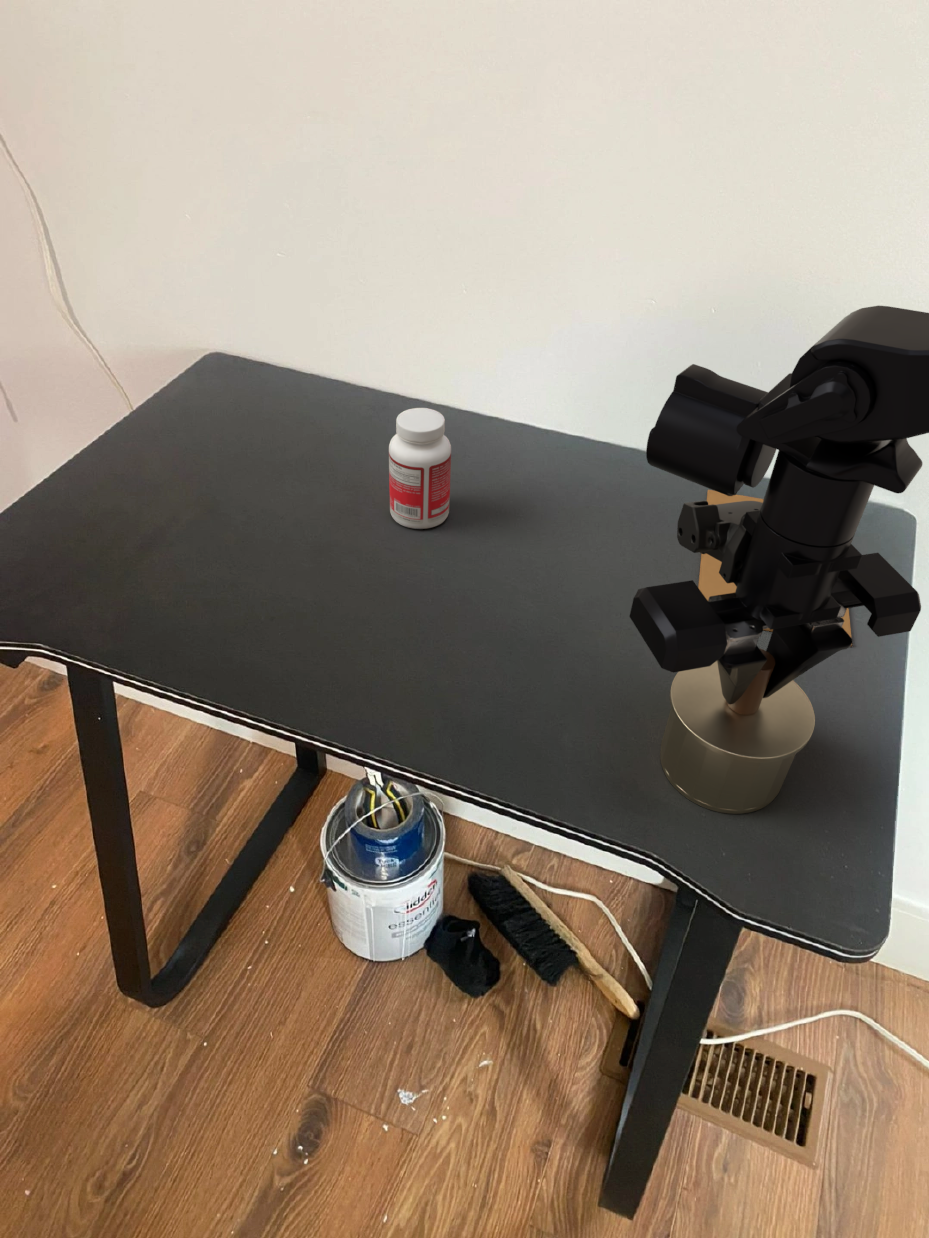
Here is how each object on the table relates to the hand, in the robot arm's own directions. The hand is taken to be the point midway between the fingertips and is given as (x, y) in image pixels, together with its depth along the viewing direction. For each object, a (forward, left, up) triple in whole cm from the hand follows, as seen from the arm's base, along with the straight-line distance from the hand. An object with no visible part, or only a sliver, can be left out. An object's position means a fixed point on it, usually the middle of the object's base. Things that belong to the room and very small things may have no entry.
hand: (744, 696), depth 67 cm
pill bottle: (+32, -26, -8) cm, 42 cm away
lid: (0, 0, -1) cm, 1 cm away
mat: (-4, -29, -8) cm, 30 cm away
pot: (0, 0, -8) cm, 8 cm away
